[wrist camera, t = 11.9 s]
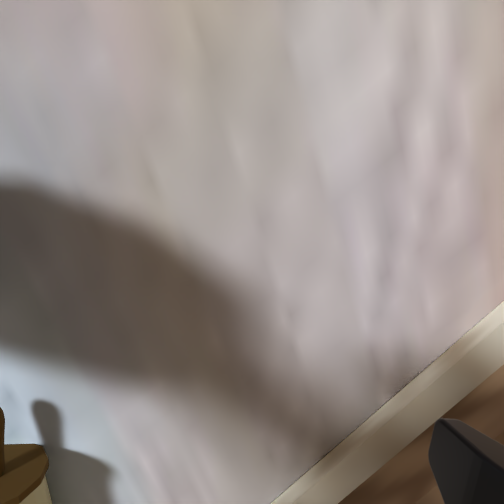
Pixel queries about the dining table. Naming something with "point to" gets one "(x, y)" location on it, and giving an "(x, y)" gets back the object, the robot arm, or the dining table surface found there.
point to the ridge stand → (414, 428)
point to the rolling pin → (22, 472)
